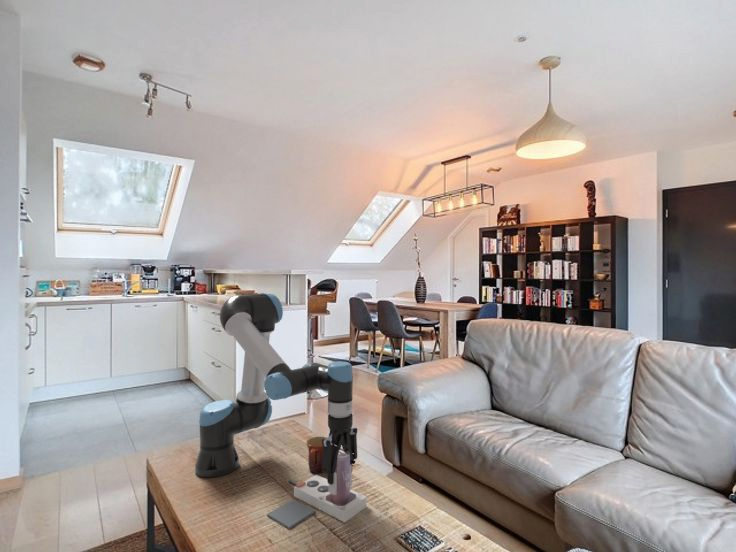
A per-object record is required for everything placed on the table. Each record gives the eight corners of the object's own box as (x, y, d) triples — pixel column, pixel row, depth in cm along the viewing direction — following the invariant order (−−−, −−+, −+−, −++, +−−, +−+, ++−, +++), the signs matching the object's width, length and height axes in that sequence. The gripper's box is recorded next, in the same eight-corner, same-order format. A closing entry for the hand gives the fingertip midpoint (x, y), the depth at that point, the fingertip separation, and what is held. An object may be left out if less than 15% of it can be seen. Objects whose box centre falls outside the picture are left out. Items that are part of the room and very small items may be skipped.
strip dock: (277, 488, 135) (277, 477, 135) (301, 475, 144) (301, 465, 144) (343, 523, 116) (343, 510, 116) (367, 505, 125) (367, 494, 125)
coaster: (267, 515, 120) (267, 513, 120) (293, 501, 128) (293, 499, 128) (289, 529, 114) (289, 527, 114) (315, 512, 122) (315, 510, 122)
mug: (311, 462, 154) (311, 435, 154) (333, 464, 152) (333, 437, 152) (299, 478, 142) (299, 449, 142) (323, 480, 140) (323, 451, 140)
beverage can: (341, 493, 129) (341, 446, 129) (353, 501, 125) (354, 452, 124) (326, 501, 125) (326, 452, 124) (339, 509, 121) (339, 459, 120)
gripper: (326, 425, 114) (326, 507, 115) (369, 408, 129) (369, 480, 130) (308, 419, 119) (308, 497, 120) (351, 403, 134) (351, 472, 134)
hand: (340, 488), depth 125 cm, fingers closed on beverage can, 6 cm apart
